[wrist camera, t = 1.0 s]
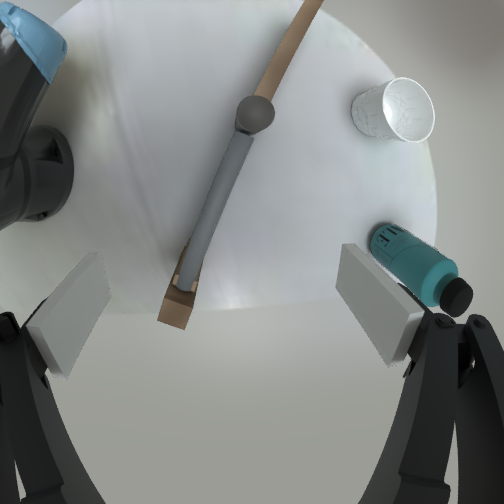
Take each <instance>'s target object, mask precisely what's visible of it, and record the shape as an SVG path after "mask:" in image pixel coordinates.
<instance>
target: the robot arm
mask: <svg viewBox="0 0 504 504" xmlns="http://www.w3.org/2000/svg"><path fill="white" fill-rule="evenodd" d="M66 53H67V43H66V41H65V39H64V38H63V37H62V36H61V35H60V34H59V33H58V32H57V31H56V30H54V29H53V28H52V27H51V26H49V25H48V24H46V23H45V22H44V21H42V20H41V19H39V18H37V17H36V16H35V15H33V14H31V13H29V12H27V11H26V10H24V9H20V8H19V7H17V6H15V5H14V4H12V3H9V2H3V3H1V4H0V230H2V229H4V228H5V227H7V226H9V225H10V224H12V223H14V222H38V221H42V220H45V219H47V218H49V217H51V216H53V215H54V214H56V213H57V212H58V211H59V210H60V209H61V208H62V207H63V205H64V204H65V202H66V200H67V198H68V196H69V193H70V190H71V187H72V182H73V159H72V154H71V150H70V147H69V145H68V143H67V141H66V139H65V138H64V136H63V135H62V134H61V133H60V132H59V131H58V130H56V129H55V128H53V127H50V126H33V127H30V128H29V126H30V123H31V121H32V119H33V117H34V115H35V112H36V110H37V108H38V106H39V104H40V102H41V100H42V98H43V97H44V95H45V93H46V91H47V89H48V87H49V86H50V85H51V84H52V83H53V78H54V76H55V74H56V72H57V70H58V68H59V66H60V65H61V63H62V61H63V60H64V58H65V56H66ZM336 289H337V291H338V292H339V293H340V295H341V296H342V298H343V299H344V301H345V302H346V304H347V305H348V307H349V308H350V310H351V311H352V312H353V314H354V315H355V317H356V318H357V320H358V322H359V323H360V324H361V326H362V328H363V329H364V331H365V332H366V334H367V335H368V337H369V338H370V340H371V341H372V343H373V344H374V346H375V347H376V349H377V351H378V352H379V354H380V355H381V357H382V358H383V360H384V362H385V363H386V365H387V367H388V368H389V367H393V366H396V365H400V364H402V363H403V361H404V359H405V357H406V355H407V353H408V354H409V356H410V357H411V361H410V363H409V365H408V368H407V369H406V371H405V373H404V375H403V377H404V378H405V376H406V379H405V383H404V387H403V390H402V394H401V398H400V401H399V405H398V408H397V411H396V415H395V418H394V421H393V424H392V427H391V430H390V433H389V436H388V438H387V441H386V444H385V446H384V449H383V452H382V454H381V457H380V459H379V461H378V464H377V466H376V469H375V471H374V473H373V475H372V478H371V480H370V482H369V484H368V486H367V488H366V490H365V492H364V494H363V496H362V498H361V500H360V501H359V503H358V504H448V501H449V498H450V491H451V490H450V486H449V485H448V484H446V483H445V482H444V476H445V472H446V467H447V463H448V459H449V454H450V448H451V443H452V437H453V436H452V435H453V430H454V422H455V425H456V435H457V447H458V469H459V470H458V471H459V473H458V474H459V480H458V484H459V485H458V504H504V351H503V349H502V346H501V344H500V342H499V340H498V338H497V336H496V334H495V332H494V330H493V328H492V326H491V324H490V322H489V321H488V320H487V319H486V318H485V317H484V316H481V315H477V314H472V315H470V316H469V317H468V320H467V322H466V324H456V322H455V321H454V320H453V319H452V318H451V317H449V316H448V315H445V314H442V313H434V314H433V313H432V312H431V311H430V310H429V309H428V308H427V307H426V306H425V305H424V304H423V303H422V302H421V301H420V300H419V299H418V298H417V297H416V296H415V295H413V293H412V292H411V291H410V290H409V289H408V288H407V287H405V286H404V285H402V284H400V283H396V282H395V281H394V280H393V279H392V278H391V277H390V276H389V275H388V274H387V273H386V272H385V271H384V270H383V269H382V268H381V267H380V266H378V265H377V264H376V263H375V262H374V261H373V260H372V259H371V258H370V257H369V256H368V255H367V254H365V253H364V252H363V251H362V250H361V249H360V248H359V247H358V246H357V245H355V244H342V250H341V257H340V264H339V270H338V276H337V282H336ZM110 297H111V293H110V289H109V285H108V281H107V277H106V273H105V269H104V265H103V260H102V256H101V252H95V253H89V254H88V255H87V256H86V257H85V258H84V259H83V260H82V261H81V262H80V263H79V264H78V265H77V266H76V267H75V268H74V269H73V270H72V271H71V272H70V274H69V275H68V276H67V277H66V278H65V279H64V280H63V281H62V282H61V283H60V285H59V286H58V287H57V288H56V289H55V290H54V291H53V293H52V294H51V295H50V296H49V297H48V298H46V299H45V300H43V301H42V302H41V303H40V305H39V306H38V307H37V309H35V311H34V312H33V314H31V315H30V317H29V318H28V319H27V321H26V322H25V323H24V324H23V326H22V327H21V328H20V327H19V325H18V323H17V321H16V319H15V316H14V314H13V313H12V312H4V313H1V314H0V504H106V503H105V502H104V500H103V499H102V497H101V495H100V494H99V492H98V491H97V489H96V487H95V486H94V484H93V482H92V481H91V479H90V477H89V475H88V474H87V472H86V470H85V468H84V466H83V464H82V463H81V461H80V459H79V457H78V455H77V453H76V451H75V448H74V446H73V444H72V442H71V440H70V438H69V435H68V433H67V431H66V428H65V426H64V424H63V421H62V418H61V416H60V414H59V411H58V408H57V405H56V402H55V399H54V397H53V393H52V390H51V387H50V384H49V381H48V378H47V376H46V375H45V371H46V369H47V368H49V370H50V372H51V374H52V375H53V377H56V378H61V379H66V380H67V379H68V376H69V374H70V372H71V370H72V368H73V366H74V364H75V362H76V359H77V358H78V356H79V354H80V352H81V350H82V347H83V346H84V344H85V342H86V340H87V338H88V336H89V334H90V333H91V331H92V329H93V327H94V325H95V323H96V322H97V320H98V318H99V316H100V314H101V313H102V311H103V309H104V307H105V306H106V304H107V302H108V301H109V299H110ZM474 360H475V365H474V368H473V365H472V363H473V361H474ZM14 459H15V460H14ZM15 462H16V465H17V468H18V471H19V475H20V478H21V480H22V483H23V486H24V489H25V492H26V497H25V498H23V499H21V502H20V497H19V491H18V485H17V479H16V470H15Z"/></svg>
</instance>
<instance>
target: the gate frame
mask: <svg viewBox="0 0 504 504" xmlns="http://www.w3.org/2000/svg"><path fill="white" fill-rule="evenodd" d="M323 1H324V0H305V1H304V3H303V4H302V6H301V8H300V9H299V11H298V13H297V14H296V16H295V18H294V20H293V21H292V23H291V25H290V27H289V28H288V30H287V32H286V34H285V35H284V37H283V39H282V41H281V43H280V45H279V46H278V48H277V50H276V52H275V54H274V56H273V58H272V60H271V61H270V63H269V65H268V67H267V69H266V71H265V73H264V75H263V77H262V79H261V81H260V83H259V85H258V87H257V89H256V91H255V93H254V95H253V96H249V97H247V98H245V99H244V100H242V101H241V102H240V104H239V106H238V108H237V114H236V121H235V129H236V131H238V132H241V133H243V134H246V135H248V136H252V135H254V134H256V133H258V132H259V131H261V130H263V129H265V128H267V127H268V126H269V125H270V124H271V123H272V122H273V119H274V116H275V111H274V107H273V105H272V103H271V100H272V98H273V96H274V94H275V92H276V90H277V88H278V86H279V84H280V82H281V80H282V78H283V76H284V74H285V72H286V70H287V68H288V66H289V64H290V62H291V60H292V58H293V56H294V54H295V52H296V50H297V48H298V46H299V45H300V43H301V41H302V39H303V37H304V35H305V33H306V31H307V30H308V28H309V26H310V24H311V22H312V20H313V19H314V17H315V15H316V13H317V11H318V10H319V8H320V6H321V4H322V2H323ZM186 247H187V246H185V247H184V250H183V252H182V254H181V257H180V259H179V262H178V264H177V266H176V269H175V271H174V274H173V276H172V279H171V281H170V284H169V286H168V289H167V291H166V294H165V296H164V299H163V302H162V306H161V309H160V312H159V316H158V319H157V320H158V321H160V322H163V323H165V324H168V325H171V326H174V327H177V328H180V329H183V330H185V328H186V325H187V322H188V320H189V317H190V314H191V312H192V309H193V305H194V300H195V296H196V291H197V286H198V283H197V286H196V288H195V291H194V292H193V291H183V290H180V289H179V288H177V287H176V285H174V284H172V283H173V280H174V277H175V274H176V271H177V269H178V266H179V264H180V261H181V259H182V256H183V254H184V251H185V249H186ZM202 263H203V261H202ZM201 268H202V266H201ZM200 272H201V270H200ZM199 277H200V275H199ZM198 281H199V279H198Z"/></svg>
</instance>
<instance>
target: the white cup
mask: <svg viewBox="0 0 504 504" xmlns="http://www.w3.org/2000/svg"><path fill="white" fill-rule="evenodd" d="M351 114H352V118H353V122H354V123H355V125H356V126H357V127H358V129H359V130H360V131H361V132H363V133H365V134H366V135H368V136H375V137H379V138H383V139H389V140H396V141H403V142H410V143H419V142H422V141H424V140H425V139H427V138H428V136H429V135H430V134H431V132H432V130H433V127H434V121H435V113H434V107H433V104H432V101H431V99H430V97H429V95H428V94H427V92H426V91H425V89H424V88H423V87H422V86H421V85H420V84H418V83H417V82H415V81H414V80H412V79H409V78H404V77H400V78H396V79H393V80H391V81H388V82H386V83H383V84H381V85H378V86H376V87H373V88H371V89H369V90H368V91H366V92H365V93H363V94H360V95H358V96H357V97H356V99H355V100H354V101H353V103H352V109H351Z"/></svg>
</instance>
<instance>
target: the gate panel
mask: <svg viewBox="0 0 504 504" xmlns="http://www.w3.org/2000/svg"><path fill="white" fill-rule="evenodd" d="M253 140H254V138H252V137H250V136H248V135H246V134H243V133H241V132H238V131H235V133H234V135H233V137H232V140H231V142H230V144H229V146H228V149H227V151H226V153H225V156H224V158H223V160H222V163H221V165H220V167H219V170H218V172H217V174H216V177H215V179H214V182H213V184H212V186H211V189H210V191H209V194H208V196H207V199H206V201H205V204H204V206H203V209H202V212H201V214H200V217H199V219H198V222H197V225H196V227H195V230H194V233H193V235H192V238H190V239H189V242H188V244H187V247H186V249H185V251H184V254H183V256H182V259H181V261H180V264H179V266H178V269H177V271H176V274H175V277H174V280H173V283H172V284H174V285H176V287H177V288H179V289H180V290H183V291H193V292H194V291H195V288H196V286H197V283H198V279H199V275H200V270H201V266H202V261H203V259H204V256H205V253H206V251H207V248H208V246H209V243H210V241H211V238H212V236H213V233H214V231H215V229H216V226H217V224H218V221H219V219H220V216H221V214H222V212H223V209H224V207H225V204H226V202H227V200H228V197H229V195H230V193H231V190H232V188H233V186H234V183H235V181H236V179H237V176H238V174H239V172H240V169H241V167H242V165H243V163H244V160H245V158H246V156H247V154H248V151H249V149H250V147H251V145H252V143H253Z"/></svg>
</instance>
